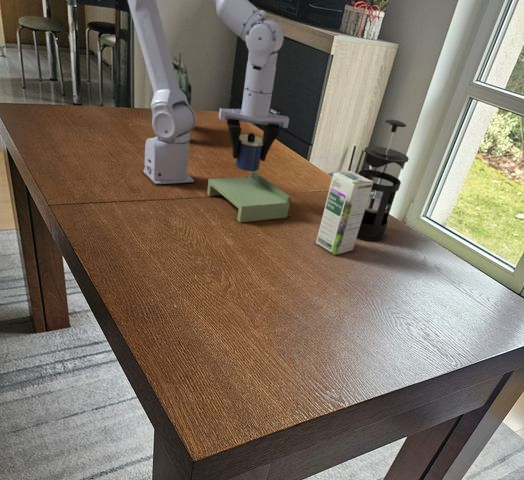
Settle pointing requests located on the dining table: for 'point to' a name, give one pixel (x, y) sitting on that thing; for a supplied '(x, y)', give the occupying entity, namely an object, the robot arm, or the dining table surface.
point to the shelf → (252, 197)
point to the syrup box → (343, 211)
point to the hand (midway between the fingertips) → (248, 158)
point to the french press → (380, 187)
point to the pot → (249, 152)
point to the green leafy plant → (182, 78)
